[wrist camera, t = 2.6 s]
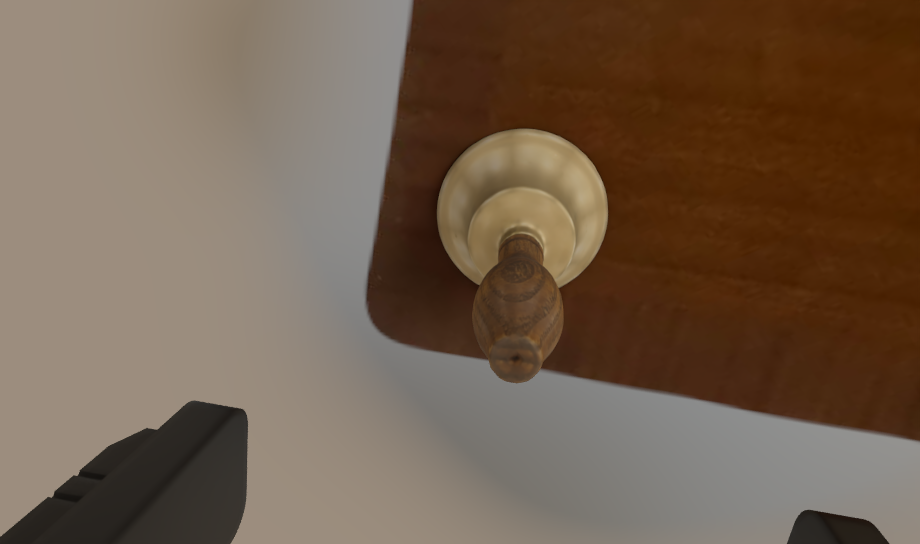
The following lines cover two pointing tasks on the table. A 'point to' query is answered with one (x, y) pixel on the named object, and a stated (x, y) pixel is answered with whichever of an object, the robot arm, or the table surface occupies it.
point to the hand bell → (521, 239)
